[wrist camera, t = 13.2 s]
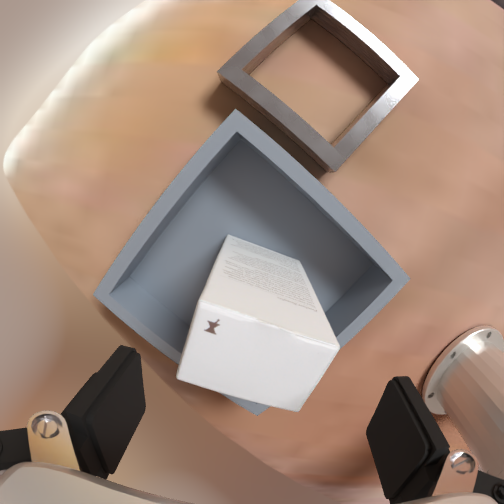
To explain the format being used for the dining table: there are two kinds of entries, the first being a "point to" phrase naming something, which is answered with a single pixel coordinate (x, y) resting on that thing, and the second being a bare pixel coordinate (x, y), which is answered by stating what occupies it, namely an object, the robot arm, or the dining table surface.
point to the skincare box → (258, 329)
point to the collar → (238, 80)
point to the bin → (249, 229)
